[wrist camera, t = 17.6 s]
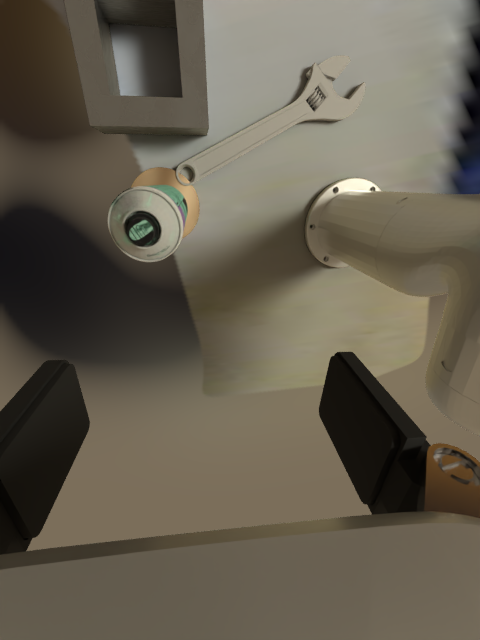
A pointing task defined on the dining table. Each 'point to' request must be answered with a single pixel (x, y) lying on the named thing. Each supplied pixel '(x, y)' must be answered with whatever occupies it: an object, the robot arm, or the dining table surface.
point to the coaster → (169, 178)
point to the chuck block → (101, 77)
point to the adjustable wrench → (283, 118)
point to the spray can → (148, 221)
